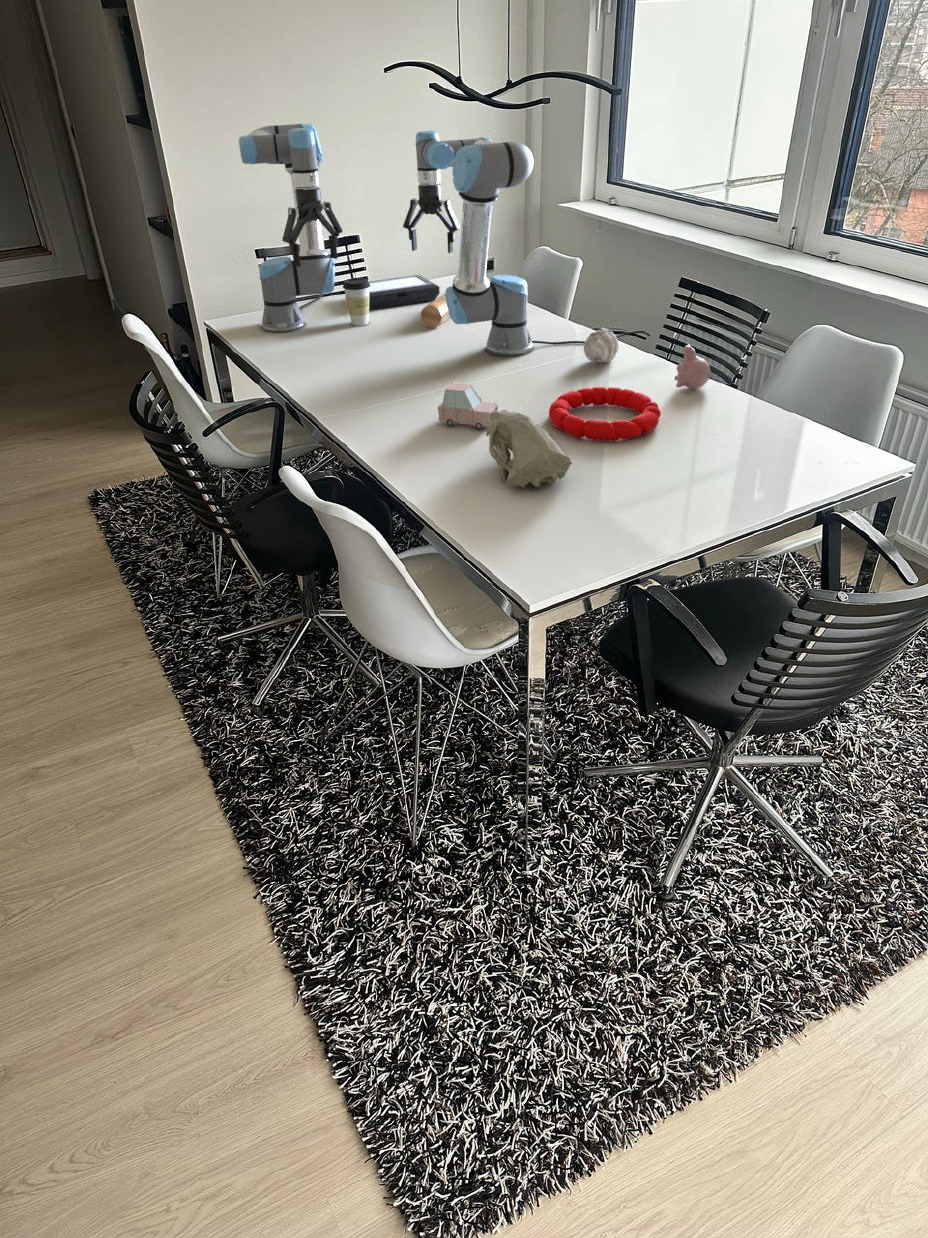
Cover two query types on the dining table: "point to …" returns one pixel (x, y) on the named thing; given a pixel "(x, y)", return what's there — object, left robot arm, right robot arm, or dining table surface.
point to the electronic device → (401, 291)
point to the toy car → (465, 406)
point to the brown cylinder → (435, 312)
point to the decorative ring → (604, 428)
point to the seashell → (601, 346)
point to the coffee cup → (357, 300)
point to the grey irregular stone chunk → (525, 450)
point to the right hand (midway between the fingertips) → (432, 250)
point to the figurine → (692, 370)
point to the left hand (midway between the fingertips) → (316, 261)
